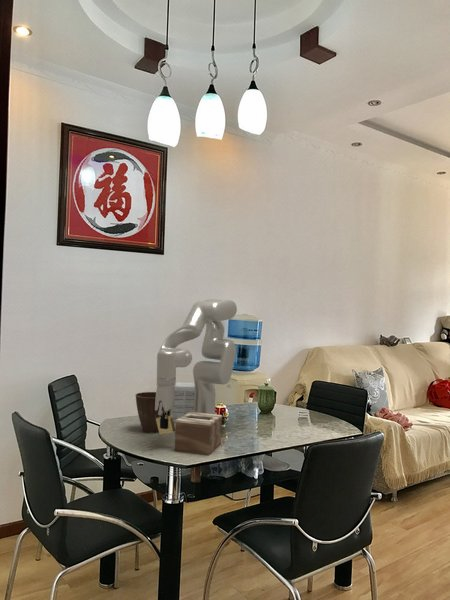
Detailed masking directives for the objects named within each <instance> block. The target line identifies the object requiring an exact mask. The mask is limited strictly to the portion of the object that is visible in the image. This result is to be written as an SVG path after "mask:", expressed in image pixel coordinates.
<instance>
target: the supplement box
mask: <svg viewBox="0 0 450 600" xmlns="http://www.w3.org/2000/svg"><path fill="white" fill-rule="evenodd" d="M174 388H175V405H174V407H173V408H172V411H171V414H172V418H173V422H174V423H176V420H177V419H178V418H180V417H182V416H184V415H185V414H187V413H189V412H194V393H195V385H194V382H183V381H182V382H179V381H176V386H174Z"/></svg>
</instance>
